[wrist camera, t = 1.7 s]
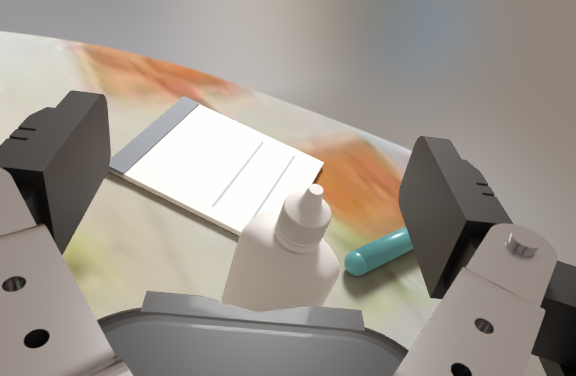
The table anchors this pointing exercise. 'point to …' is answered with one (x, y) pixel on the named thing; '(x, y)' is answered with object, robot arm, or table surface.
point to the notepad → (214, 166)
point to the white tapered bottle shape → (284, 257)
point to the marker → (378, 252)
